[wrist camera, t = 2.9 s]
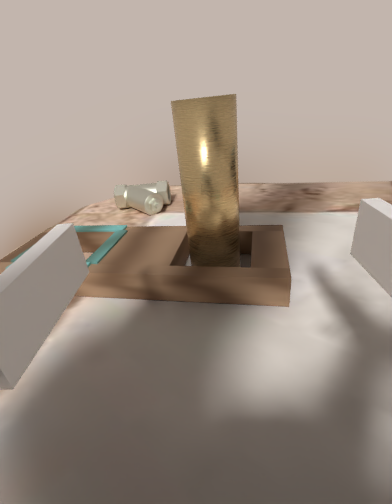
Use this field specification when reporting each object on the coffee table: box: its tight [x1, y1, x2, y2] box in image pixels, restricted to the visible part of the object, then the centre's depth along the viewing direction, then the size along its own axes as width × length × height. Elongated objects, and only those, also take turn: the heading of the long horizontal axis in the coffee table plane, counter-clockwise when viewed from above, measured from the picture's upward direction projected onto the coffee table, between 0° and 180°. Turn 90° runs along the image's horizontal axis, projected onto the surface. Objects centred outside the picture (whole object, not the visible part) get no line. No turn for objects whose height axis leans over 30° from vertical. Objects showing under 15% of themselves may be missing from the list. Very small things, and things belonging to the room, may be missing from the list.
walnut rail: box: [0, 225, 291, 307], centre depth 26 cm, size 26×9×3 cm, turn 79°
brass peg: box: [171, 94, 240, 267], centre depth 22 cm, size 4×4×14 cm
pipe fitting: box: [114, 181, 171, 215], centre depth 42 cm, size 8×4×7 cm
